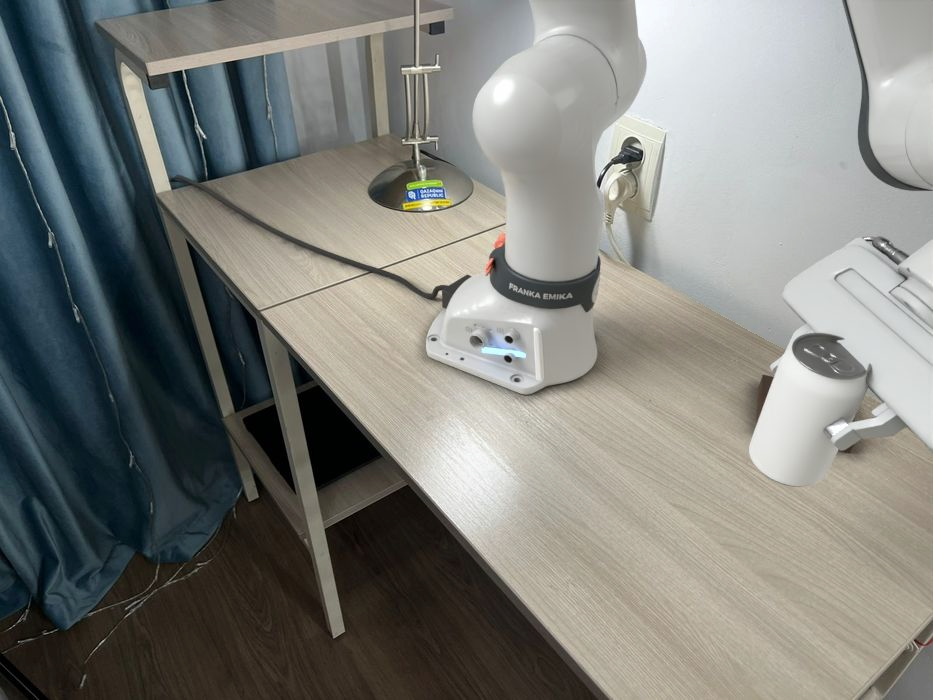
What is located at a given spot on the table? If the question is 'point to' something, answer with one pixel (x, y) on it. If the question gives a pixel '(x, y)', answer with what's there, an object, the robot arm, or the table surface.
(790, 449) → the can
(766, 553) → the table surface
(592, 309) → the robot arm
